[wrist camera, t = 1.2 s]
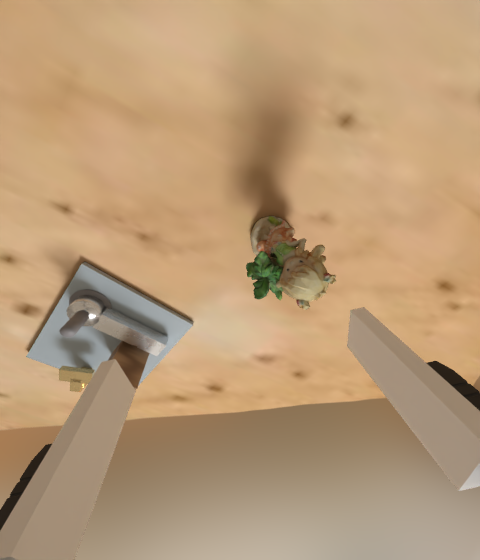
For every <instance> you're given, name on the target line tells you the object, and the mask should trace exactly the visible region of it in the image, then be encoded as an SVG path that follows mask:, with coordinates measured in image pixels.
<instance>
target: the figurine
mask: <svg viewBox="0 0 480 560" xmlns="http://www.w3.org/2000/svg"><path fill="white" fill-rule="evenodd" d="M294 234H295V230H294V228H290V227H289V225H288V224H287V223H286V221H285V220H283V219H281V218H279V217H277V218H276V217H275V216H268V217H265V218H261V219H260V220H258V221H257V222H256V224H255V225H254V227H253V230H252V233H251V242H252V249H253V252H254V253H255V254H256V255H257V257H256V258H255V259H254V260H255V262H253V263H247V265H246V269H247V271H248V272H247V277H252V280H255V279H256V280H258V281H256V282H255V283H253V285H254V286H255V289H254V290H253V291H254V295H255V298H256V299H262V298H264V297H265V296H266V295H267V293H268V292H269V289H270V290H271V291H272V292H273V293H275V295H276V297H277V298H278V299H279V300H281V299H282V291H284V293H286V294H287V295H289V296H290V297H292V298H294V299H296V300H297V304H298V306H299V307H300V308H303V309H305V310H307V309H309V307H310V306H309V302H311V301H314V300H318V299H319V298H321V297H322V296H323V295H324V294H326V290H327V288H328V284H329V283H330V284H334V283H335V282H336V280H335V277H336V276H335V275H330V274H329V273H327V270H326V268H325V266H324V265H323V264H324V262H325V260H326V257H325V256H323V255H321V254H322V253H323V252H324V250H325V247H324V246H323V245H317V246H316V247H315V248H314V249H313V250H312V252H310V253H309V251H308V250H306V251H304V247H305V242H306V239H300V240H298V241H297V240H296V239H294V238H292V237H293V235H294ZM296 247H298V248H296Z"/></svg>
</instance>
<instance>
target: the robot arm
mask: <svg viewBox="0 0 480 560" xmlns="http://www.w3.org/2000/svg"><path fill="white" fill-rule="evenodd" d="M347 347H348V348H349V349H350V351H351V352H352V353H353V354H354V356H355V357H356V358H357V360H358V361H359V362H360V364H361V365H362V366H363V367H364V369H365V370H366V371H367V373H368V374H369V375H370V377H371V378H372V379H373V380H374V382H375V383H376V384H377V386H378V387H379V388H380V390H381V391H382V392H383V393H384V395H385V396H386V397H387V399H388V400H389V401H390V402H391V404H392V405H393V406H394V408H395V409H396V410H397V412H398V413H399V414H400V416H401V417H402V418H403V420H404V421H405V422H406V423H407V425H408V426H409V427H410V429H411V430H412V431H413V433H414V434H415V435H416V436H417V438H418V439H419V440H420V442H421V443H422V444H423V446H424V447H425V448H426V449H427V450H428V452H429V453H430V454H431V456H432V457H433V459H434V460H435V461H436V462H437V464H438V465H439V466H440V468H441V469H442V470H443V472H444V473H445V474H446V475H447V476H448V478H449V479H450V481H451V482H452V483H453V484H454V486H455V487H456V489H457V490H458V491H461V490H465V489H470V488H474V487H479V486H480V393H479V391H478V390H477V389H475V388H474V387H473V386H472V385H471V384H468V383H467V381H466V380H465V379H463V378H462V377H461V376H460V375H458V374H457V373H456V372H455V371H454V370H452V369H450V368H448V367H447V366H445V365H443V364H441V363H439V362H437V361H433V362H428V363H426V362H424V361H423V360H422V359H421V358H420V357H419V356H418V355H417V354H416V353H414V352H413V351H412V350H411V349H410V348H409V347H408V346H407V345H405V344H404V343H403V342H402V341H401V340H400V339H399V338H398V337H397V336H395V335H394V334H393V333H392V332H391V331H390V330H389V329H388V328H387V327H385V326H384V325H383V324H382V323H381V322H380V321H379V320H378V319H376V318H375V317H374V316H373V315H372V314H371V313H370V312H369V311H368V310H366V309H365V308H364V307H363V308H358V309H353V310H350V322H349V333H348V344H347ZM135 392H136V391H135V389H134V387H133V386H132V384H131V383H130V381H129V380H128V378H127V376H126V375H125V373H124V372H123V370H122V368H121V367H120V365H119V364H118V362H117V361H116V359H113V360H108V361H104V362H101V364H100V365H99V367H98V369H97V370H96V372H95V374H94V375H93V377H92V379H91V380H90V382H89V384H88V385H87V387H86V389H85V390H84V392H83V394H82V395H81V397H80V399H79V400H78V402H77V404H76V405H75V407H74V409H73V410H72V412H71V414H70V415H69V417H68V419H67V420H66V422H65V424H64V425H63V427H62V429H61V430H60V432H59V434H58V435H57V437H56V439H55V440H54V442H53V444H48V445H45V447H44V448H43V449H42V450H41V451H40V452H39V453H38V454H37V455H36V456H35V458H34V459H33V460H32V461H31V463H30V464H29V466H28V467H27V469H26V470H25V472H24V473H23V475H22V477H21V478H20V482H18V483H17V485H16V486H15V488H14V489H13V491H12V492H11V494H10V498H8V499H7V500H6V502H5V503H4V505H3V507H2V508H1V510H0V560H75V557H76V554H77V552H78V549H79V546H80V543H81V541H82V538H83V535H84V532H85V530H86V527H87V524H88V521H89V519H90V516H91V513H92V510H93V507H94V505H95V502H96V499H97V497H98V494H99V491H100V488H101V485H102V483H103V480H104V477H105V474H106V471H107V469H108V466H109V463H110V461H111V458H112V455H113V452H114V449H115V447H116V444H117V441H118V439H119V436H120V433H121V430H122V427H123V425H124V422H125V419H126V417H127V414H128V411H129V408H130V406H131V403H132V400H133V397H134V394H135Z"/></svg>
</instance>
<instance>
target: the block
mask: <svg viewBox="0 0 480 560" xmlns="http://www.w3.org/2000/svg"><path fill="white" fill-rule="evenodd" d="M148 356H149V353H148V352H146V351H144V350H142V349H139V348H137V347H135V346H133V345H131V344H128V343H126V342H124V341H121V342H120V344H119V345H118V346H117V348H116V349H115V350H114V351H113V353H112V354H111V356H110V357H109V359H108V360H113V359H116V361H117V362H118V364H119V365H120V367H121V368H122V370H123V372H124V373H125V375H126V376H127V378H128V380H129V381H130V383H131V384H132V386H133V387H134V389H135V390H136V389H137V388H138V385H139V382H140V379H141V376H142V373H143V371H144V368H145V365H146V362H147V359H148Z"/></svg>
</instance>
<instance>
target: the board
mask: <svg viewBox="0 0 480 560" xmlns="http://www.w3.org/2000/svg"><path fill="white" fill-rule="evenodd" d="M82 295H91V296H95V297H97V298H99V299H100V300H101V301H102V302H103V303H104V305H105V307H106V308H107V307H109V308H111V309H113V310H115V311H117V312H119V313H121V314H123V315H125V316H127V317H129V318H131V319H133V320H135V321H137V322H139V323H141V324H143V325H145V326H147V327H149V328H151V329H153V330H155V331H157V332H159V333H161V334H163V335H165V336H167V337H169V338H168V342H167V345H166V347H165V348H164V349H163V350H162V351H161V352H160V353H159V355H158V356H155V355H153V354H151V353H149V356H148V359H147V362H146V365H145V368H144V371H143V373H142V376H141V379H140V382H139V384H140V383H141V382H142V381H143V380H144V379H145V378H146V377H147V375H148V374H149V373H150V372H151V371H152V370H153V369H154V368H155V367H156V366H157V364H158V363H159V362H160V361H161V360H162V359H163V358H164V357H165V356H166V354H167V353H168V352H169V351H170V350H171V349H172V348H173V347H174V346H175V345H176V343H177V342H178V341H179V340H180V339H181V338H182V337H183V336H184V335H185V333H186V332H187V331H188V330H189V329H190V328H191V327H192V326H193V322H192V321H190V320H188V319H187V318H185V317H183V316H181V315H179V314H178V313H176V312H174V311H172V310H170V309H169V308H167V307H165V306H163V305H162V304H160V303H158V302H156V301H154V300H153V299H151V298H149V297H147V296H145V295H144V294H142V293H140V292H138V291H136V290H135V289H133V288H131V287H129V286H127V285H126V284H124V283H122V282H120V281H118V280H117V279H115V278H113V277H111V276H109V275H108V274H106V273H104V272H102V271H101V270H99V269H97V268H95V267H93V266H92V265H90V264H88V263H86V262H84V263H82V264H81V266H80V267H79V269H78V271H77V272H76V274H75V276H74V278H73V279H72V281H71V283H70V284H69V286H68V288H67V289H66V291H65V293H64V294H63V296H62V298H61V299H60V301H59V303H58V304H57V306H56V308H55V309H54V311H53V313H52V314H51V316H50V318H49V319H48V321H47V323H46V324H45V326H44V328H43V329H42V331H41V333H40V334H39V336H38V338H37V339H36V341H35V343H34V344H33V346H32V348H31V349H30V351H29V353H28V354H27V356H26V357H28V358H31V359H33V360H36V361H39V362H42V363H45V364H47V365H50V366H53V367H56V368H59V369H60V368H61V367H62V366H70V367H78V368H81V367H88V368H93V370H95V372H96V370H97V369H98V367H99V365H100V364H101V362H104V361H108V359H109V357H110V356H111V354H112V353H113V351H114V350H115V349H116V348H117V346H118V345H119V344H120V342H121V341H122V340H119V339H117V338H115V337H113V336H111V335H108V334H106V333H104V332H102V331H99V330H97V329H95V328H93V326H94V325H93V326H83V325H84V324H85V322H86V321H87V320H88V319H89V315H88V314H87V313H86V312H84V311H78V312H76V313H75V314H74V315H73V316H72V317H71V318H70V319H69V317H68V316H67V308H68V306H69V305H70V304H71V303H73V302H74V301H75V300H76V299H77V298H78V297H80V296H82Z"/></svg>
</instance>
